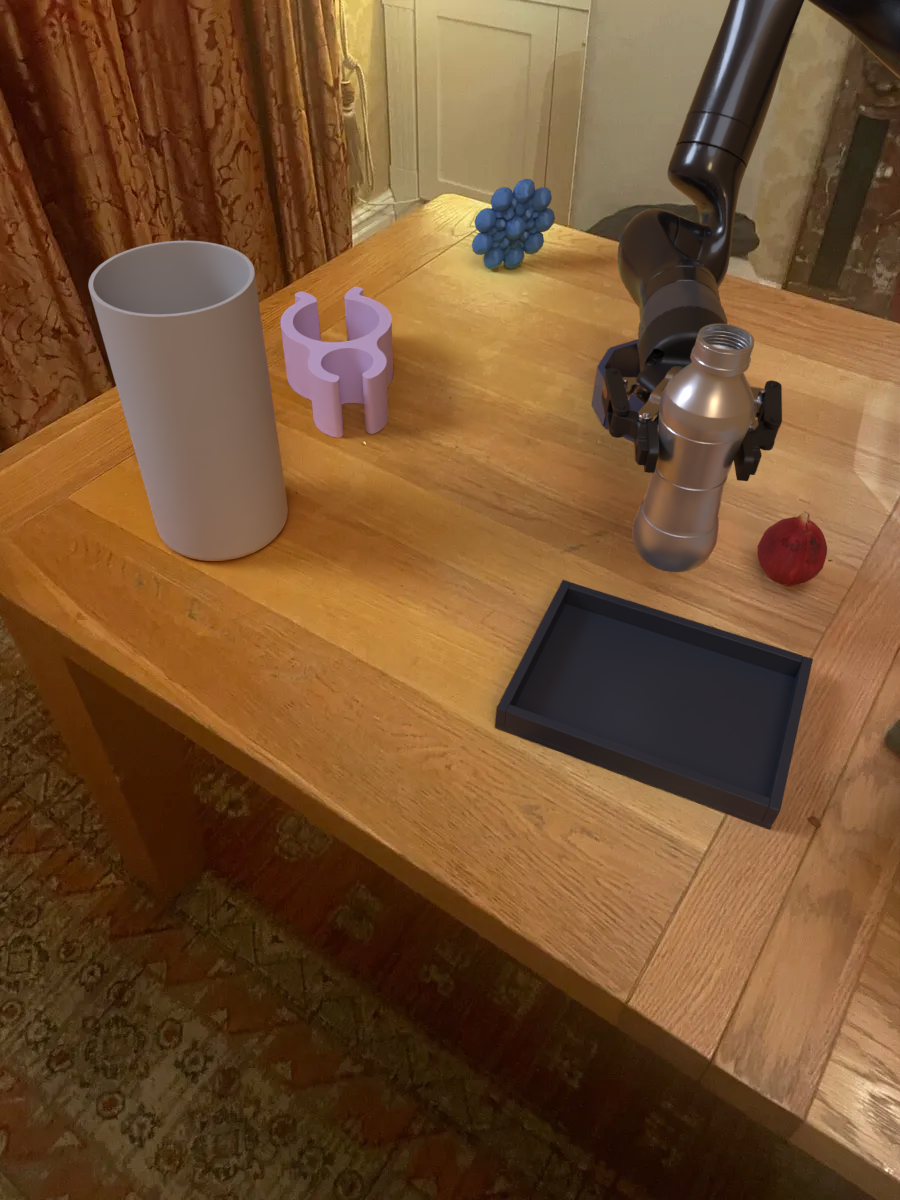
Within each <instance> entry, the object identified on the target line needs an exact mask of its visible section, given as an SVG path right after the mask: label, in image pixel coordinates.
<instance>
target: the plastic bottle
mask: <svg viewBox="0 0 900 1200" xmlns="http://www.w3.org/2000/svg"><path fill="white" fill-rule="evenodd" d="M754 346H755V337H754V336H753V334H751V333H750V332H749V331H748V330H746V329H745V328H742V327H740V326H737V325H734V324H729V323H728V324H710V325H707V326H704V327H703V328H701V329H700V331H699V333H698V335H697V339H696V343H695V346H694V347H693V349H692V352H691V357H690V358H691V361H692V363H690V364H689V365H687V366H686V367H684V368H683V369H682V370H681V371H680V372H678V373H677V374H676V375H675V376H674V377H673V378H671V379H670V380H669V382H668V384H667V385H666V387H665V389H664V390H663V392H662V394H661V399H660V406H659V425H658V440H659V455H658V459H657V464H656V468H655V472H654V473H651V476H650V479H649V482H648V486H647V488H646V491H645V494H644V498H643V500H642V502H640V503H641V504H640V505H639V508H638V509H637V511H636V514H635V516H634V519H633V522H632V544H633V546H634V547H633V548H634V549H635V551H636V552H637V553H638V555H639V557H640V558H641V560H643V562H645V563H646V564H647V565H649V566H651V567H653V568H655V569H657V570H659V571H662V572H667V573H674V574H675V573H677V574H679V573H687V572H690V571H693V570H695V569H697V568H698V567H701V566H702V565H703V564H705V563H706V562H707V561H708V560H709V558H710V556H711V554H712V552H713V551H714V549H715V547H716V545H717V542H718V534H719V526H720V525H719V521H720V517H719V515H720V510H721V506H722V505H721V504H722V498H723V495H724V488H725V485H726V483H727V479H728V475H729V473H730V471H731V469H732V465H733V464H734V457H735V455H736V453H737V451H738V449H739V447H740V445H741V443H742V441H743V439H744V437H745V435H746V433H747V431H748V429H749V427H750V425H751V422H752V419H753V417H754V414H755V405H754V396H753V393H752V390H751V388H750V387H751V385H750V383H749V380H748V379H747V377H746V375H745V373H746V372H747V370H749V367H750V365H751V361H752V358H751V356H752V353H753V350H754ZM754 418H755V417H754Z"/></svg>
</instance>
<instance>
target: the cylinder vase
mask: <svg viewBox="0 0 900 1200" xmlns="http://www.w3.org/2000/svg"><path fill="white" fill-rule="evenodd" d="M88 290H89V291H88V292H89V294H90V297H91V301H92V305H93V308H94V312H95V316H96V319H97V322H98V326H99V331H100V333H101V337H102V341H103V344H104V348H105V351H106V355H107V359H108V361H109V366H110V370H111V372H112V375H113V379H114V383H115V386H116V390H117V393H118V398H119V401H120V404H121V407H122V411H123V414H124V419H125V421H126V425H127V429H128V432H129V436H130V439H131V443H132V446H133V450H134V453H135V454H134V455H135V457H136V460H137V464H138V467H139V472H140V475H141V479H142V482H143V486H144V489H145V492H146V496H147V499H148V503H149V507H150V510H151V513H152V517H153V521H154V524H155V529H156V531H157V534H158V536H159V537H160V539H161V540H162V542H163V543H164V544H165V545H166V546H167V547H168V548H170V549H171V551H174V552H175V553H176V554H179V555H181V556H183V557H186V558H189V559H193V560H197V561H205V562H223V561H224V562H225V561H231V560H235V559H239V558H243V557H246V556H249V555H251V554H254V553H256V552H258V551H261V550H262V549H263V548H266V546H268V545H269V544H271V543H272V542H273V541H274V540H275V539H276V538H277V537H278V535H280V533H281V531H282V530H283V528H284V527H285V524H286V522H287V520H288V515H289V506H288V500H287V499H288V498H287V491H286V485H285V484H286V483H285V478H284V472H283V465H282V458H281V451H280V449H281V448H280V443H279V436H278V429H277V422H276V421H277V420H276V415H275V408H274V399H273V393H272V385H271V380H270V379H271V378H270V371H269V366H268V356H267V351H266V350H267V349H266V344H265V336H264V328H263V322H262V315H261V309H260V300H259V293H258V287H257V280H256V272H255V268H254V264H253V263H252V261H251V260H250V259H249V257H247V256H246V255H245V254H244V253H242V252H240V251H238V250H237V249H235V248H232V247H229V246H227V245H223V244H219V243H214V242H209V241H200V240H171V241H161V242H154V243H148V244H144V245H140V246H136V247H133V248H130V249H127V250H125V251H122V252H119V253H117V254H115V255H113V256H112V257H109V258H107V260H105V261H104V262H102V263H101V264H99V265H98V266H97V267H96V268H95V269H94V271H93V272H92V273H91V275H90V277H89V278H88Z"/></svg>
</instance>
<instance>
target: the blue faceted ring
mask: <svg viewBox="0 0 900 1200" xmlns="http://www.w3.org/2000/svg"><path fill="white" fill-rule="evenodd" d="M637 343H638V338H636V339H633V340H630V341H627V342H624V343H620V344H617V345H613V346H611V347H609V348H607V350H606V352H605V353H604V355H603V357H602V358H601V360H600V361H599V362H598V365H597V367H596V373H595V379H594V386H593V387H594V388H593V391H592V399H591V407H592V409H593V411H594V413H595V414H596V417H597V418H598V421H600V424H601V426H602V427H604V428H605V429H606V430H608V431H609V429H608V425H607V420H606V416H605V412H604V407H603V403H602V398H601V396H602V390H603V384H604V378H605V372H606V369H608V368H617V369H619V370H620V371H621V374H622V377H637V376H638V374H639V373H640V362H639V353H638V349H637ZM628 401H629V405H630V410H631V411H635V412H639V410H640V409H641V408H642V407H643V406H644V405H645V403H643V402H642V401H641V400H640V399H639V398H637V396H636V394H631V395H630V398H629V400H628ZM622 438H624V439H627V440H629V441H631V442H633V443H634V441H633V438H632V437H630V436H628V435H624V436H623V437H622Z"/></svg>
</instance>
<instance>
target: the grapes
mask: <svg viewBox="0 0 900 1200" xmlns="http://www.w3.org/2000/svg"><path fill="white" fill-rule="evenodd" d="M552 198H553V196H552V191H551V190H550V189H549V188H548V187H538V188H536V186H535V182H534V181H533V179H531V178H523V179H521V180H519V181H518V182H517V183H515V186H514V187H513V189H511V188H510V186H509V187H508V186H501V187H499V188H498V189H496V190H495V191H494V193H493V194H492V196H491V199H490V207H485V208H483V209H481V210H479V212H478V213H476V216H475V219H474V227H475V229H476V231H478V233H477V234H476V235H475V236H474V238H473V239H472V242H471V248H472V251H473V253H474V254H475V255H477V256H483V258H482V262H483V266H484V267H485V268H486V269H487V270H495V269H497V268H499V267H500V266H501V264H502V263H503V266H504V267H505V268H506V269H509V270H513V269H517V268H518V267H519V266H520V265H521V264H522V263H523V261H524V259H525V254H526V255H535V254H537V253H539V251H540V250H541V249H542V248H543V246H544V243H545V238H544V233H545V232H547V231H549V230H550V229H551V228H552V226H553V225H554V223H555V220H556V216H555V211H554V210H553V209H552V208H549V206H550V204H551V203H552Z"/></svg>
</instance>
